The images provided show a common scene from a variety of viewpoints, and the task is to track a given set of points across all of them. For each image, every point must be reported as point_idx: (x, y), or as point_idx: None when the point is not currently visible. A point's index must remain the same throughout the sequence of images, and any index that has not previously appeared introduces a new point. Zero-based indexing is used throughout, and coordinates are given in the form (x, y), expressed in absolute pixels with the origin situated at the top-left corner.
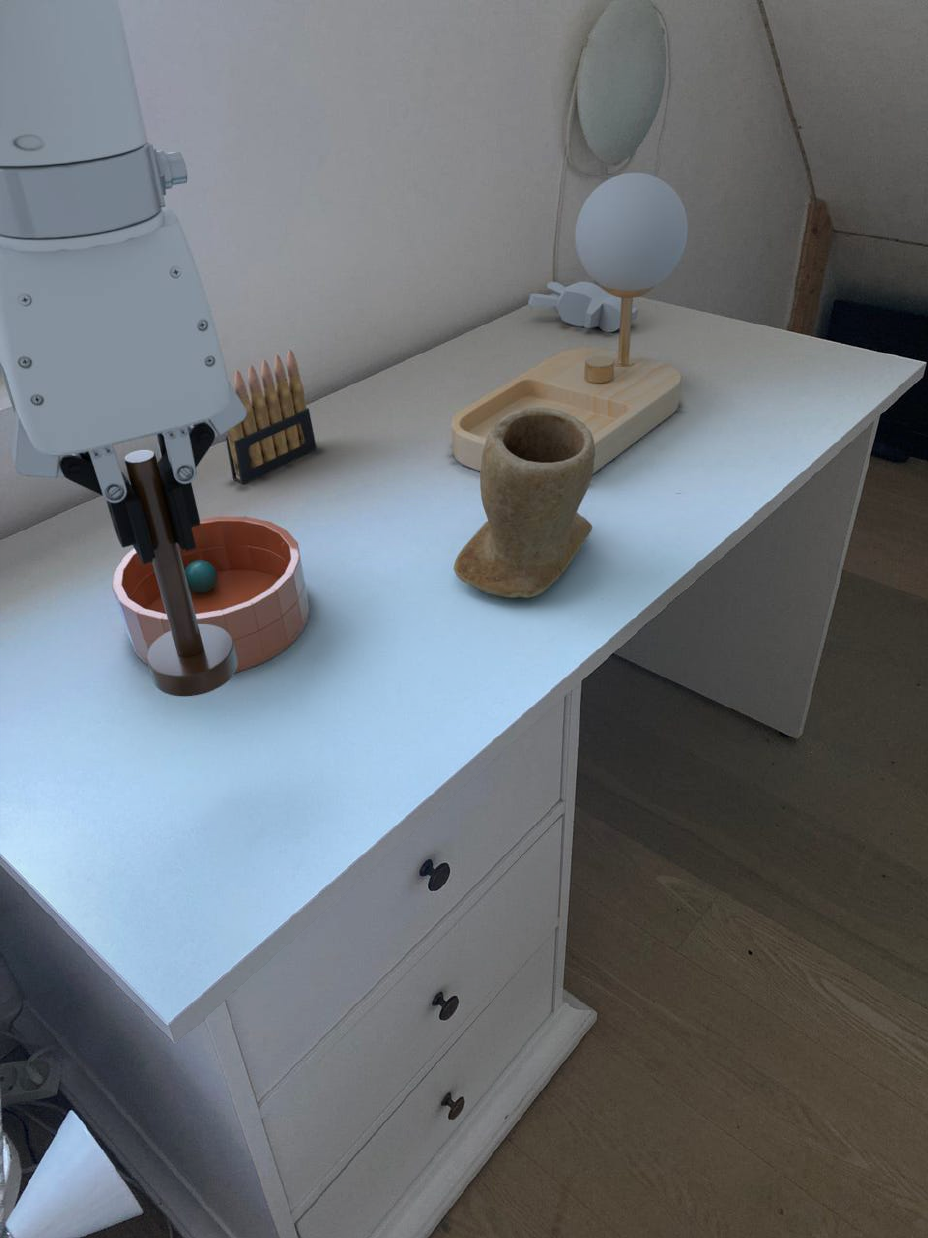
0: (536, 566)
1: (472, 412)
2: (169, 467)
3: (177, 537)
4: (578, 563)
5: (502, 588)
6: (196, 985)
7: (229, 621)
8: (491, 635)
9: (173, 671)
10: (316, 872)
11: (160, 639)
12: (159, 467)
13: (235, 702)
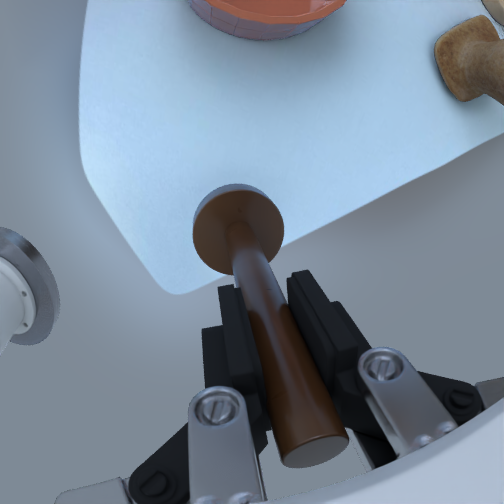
0: (474, 92)
1: None
2: (353, 427)
3: None
4: None
5: (451, 86)
6: (183, 291)
7: (272, 26)
8: (426, 107)
9: (217, 265)
10: None
11: (210, 205)
12: (340, 391)
13: (247, 72)
